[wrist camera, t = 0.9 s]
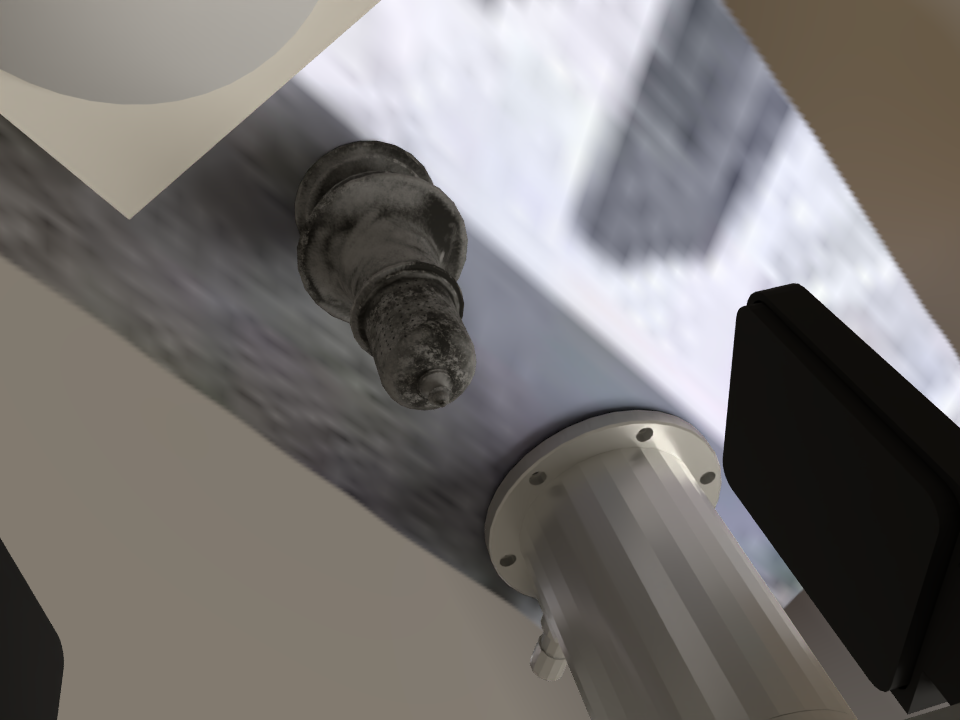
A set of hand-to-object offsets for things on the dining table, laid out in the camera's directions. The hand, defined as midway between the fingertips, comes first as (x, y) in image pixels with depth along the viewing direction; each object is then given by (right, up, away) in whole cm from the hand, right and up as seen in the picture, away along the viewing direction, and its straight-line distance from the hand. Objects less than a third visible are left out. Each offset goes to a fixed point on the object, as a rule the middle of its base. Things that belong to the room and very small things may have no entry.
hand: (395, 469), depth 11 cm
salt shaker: (-3, +7, +22) cm, 24 cm away
